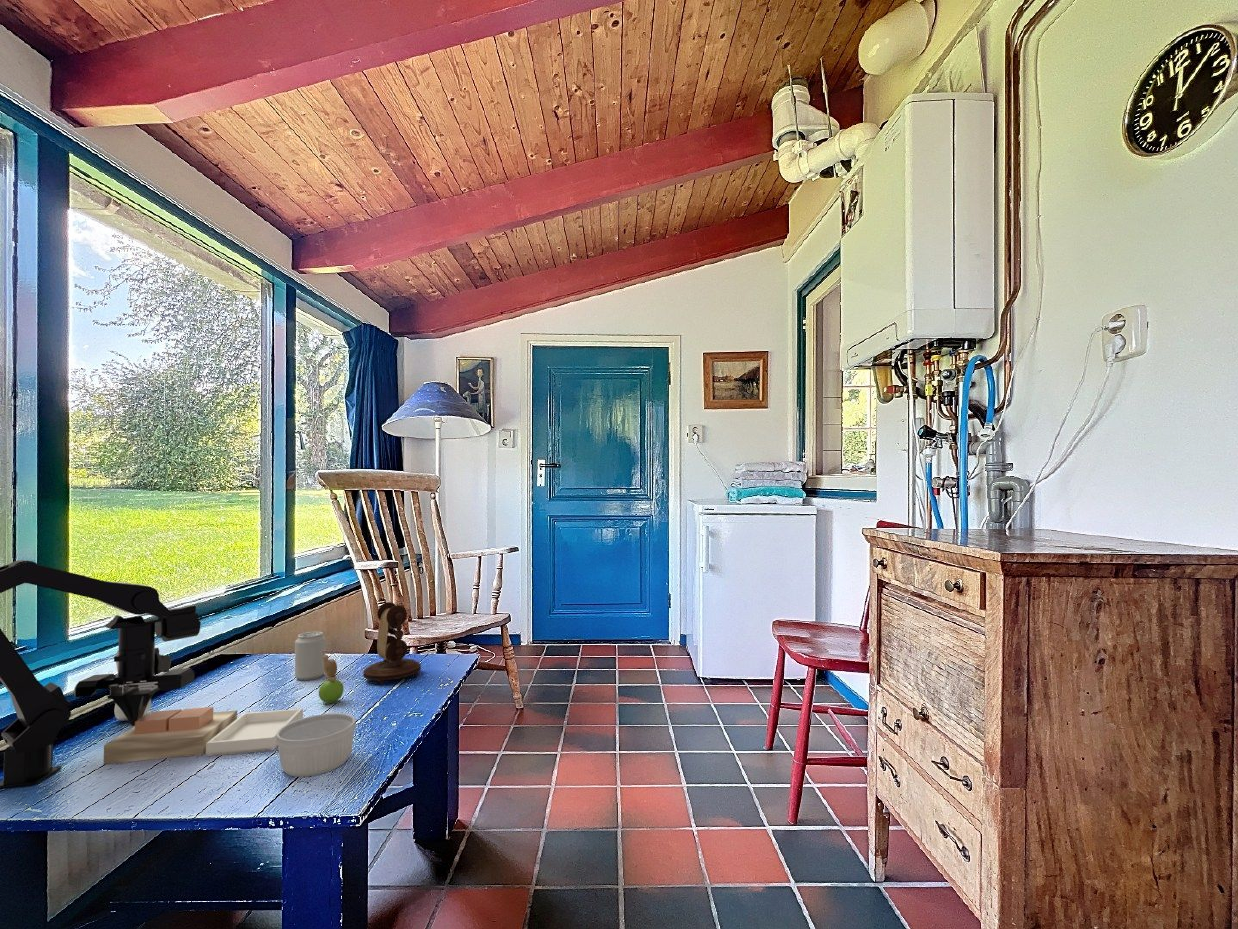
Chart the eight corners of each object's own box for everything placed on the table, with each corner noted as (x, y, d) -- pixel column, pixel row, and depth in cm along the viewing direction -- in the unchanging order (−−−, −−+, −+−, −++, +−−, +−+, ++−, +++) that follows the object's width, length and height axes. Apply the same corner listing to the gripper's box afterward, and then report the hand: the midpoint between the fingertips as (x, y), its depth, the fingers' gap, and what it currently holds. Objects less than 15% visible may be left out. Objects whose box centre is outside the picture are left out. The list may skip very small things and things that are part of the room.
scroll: (355, 677, 161) (355, 604, 162) (408, 666, 171) (407, 597, 172) (374, 690, 150) (374, 611, 151) (429, 677, 160) (429, 603, 161)
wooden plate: (202, 754, 113) (203, 736, 114) (103, 763, 111) (104, 744, 111) (236, 726, 127) (237, 710, 127) (149, 734, 124) (149, 717, 125)
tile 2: (199, 729, 117) (199, 716, 117) (168, 731, 116) (168, 719, 117) (213, 719, 123) (213, 706, 123) (184, 721, 122) (184, 709, 122)
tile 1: (165, 732, 116) (166, 719, 116) (134, 734, 115) (135, 721, 116) (181, 721, 122) (181, 709, 122) (151, 723, 121) (152, 711, 121)
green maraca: (335, 696, 146) (335, 647, 146) (347, 701, 142) (347, 651, 142) (312, 702, 142) (313, 652, 142) (324, 708, 138) (324, 656, 138)
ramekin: (258, 779, 103) (258, 739, 103) (307, 747, 116) (307, 711, 116) (327, 782, 101) (327, 741, 102) (369, 749, 114) (369, 713, 115)
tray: (273, 750, 115) (273, 737, 115) (205, 756, 113) (206, 743, 113) (302, 719, 130) (302, 708, 131) (244, 724, 128) (244, 713, 129)
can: (296, 675, 164) (296, 632, 165) (325, 671, 167) (325, 629, 168) (293, 683, 157) (294, 637, 158) (324, 678, 160) (325, 634, 161)
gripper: (208, 634, 128) (207, 706, 128) (111, 640, 125) (110, 714, 124) (179, 647, 117) (178, 726, 117) (72, 654, 114) (71, 736, 113)
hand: (135, 725), depth 118 cm, fingers closed
